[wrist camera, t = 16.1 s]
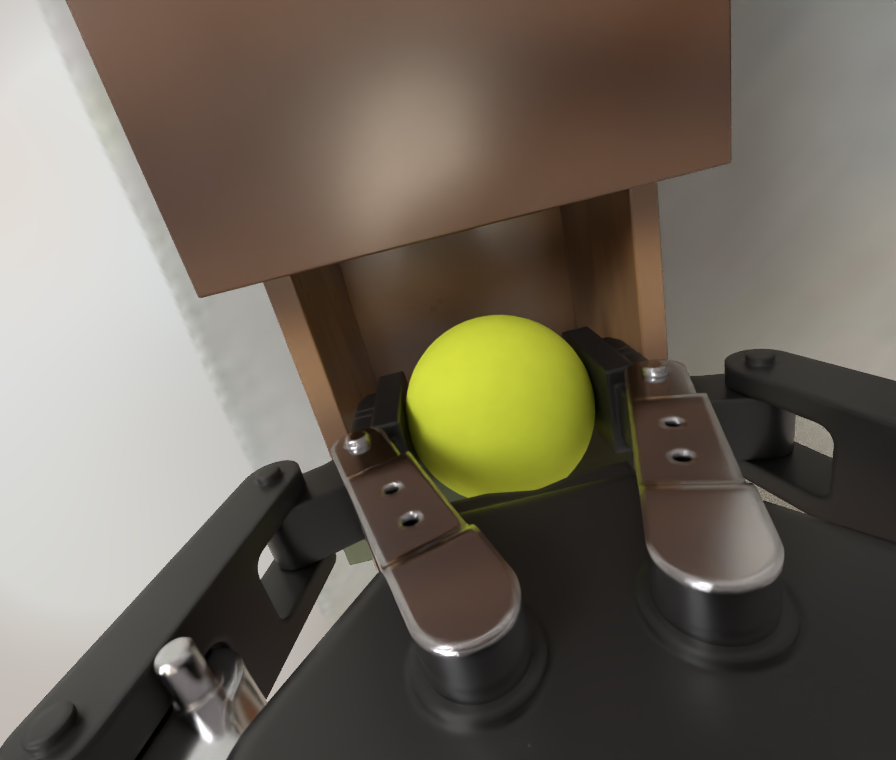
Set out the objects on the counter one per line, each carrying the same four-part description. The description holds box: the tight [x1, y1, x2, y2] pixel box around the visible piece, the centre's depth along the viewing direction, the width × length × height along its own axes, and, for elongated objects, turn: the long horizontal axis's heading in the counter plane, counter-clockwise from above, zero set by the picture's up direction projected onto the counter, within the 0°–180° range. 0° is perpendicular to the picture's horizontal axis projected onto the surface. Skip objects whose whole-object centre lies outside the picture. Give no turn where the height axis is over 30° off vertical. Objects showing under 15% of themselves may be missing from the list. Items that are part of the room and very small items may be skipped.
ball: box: [406, 315, 595, 498], centre depth 13 cm, size 5×5×5 cm
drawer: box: [263, 182, 668, 565], centre depth 18 cm, size 20×12×8 cm, turn 13°
